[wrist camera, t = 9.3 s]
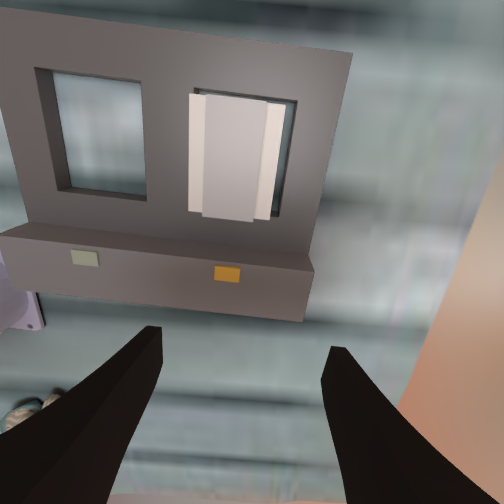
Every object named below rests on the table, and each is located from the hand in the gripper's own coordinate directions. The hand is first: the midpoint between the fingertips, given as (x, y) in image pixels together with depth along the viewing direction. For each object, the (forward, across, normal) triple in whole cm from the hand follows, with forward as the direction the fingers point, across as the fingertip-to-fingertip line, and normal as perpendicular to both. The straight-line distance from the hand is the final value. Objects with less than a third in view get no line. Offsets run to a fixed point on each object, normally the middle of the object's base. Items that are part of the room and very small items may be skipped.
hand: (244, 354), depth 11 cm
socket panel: (+10, +6, -5) cm, 13 cm away
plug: (+10, +2, -7) cm, 13 cm away
